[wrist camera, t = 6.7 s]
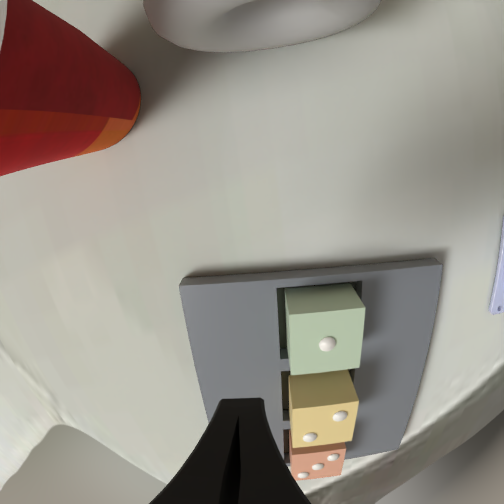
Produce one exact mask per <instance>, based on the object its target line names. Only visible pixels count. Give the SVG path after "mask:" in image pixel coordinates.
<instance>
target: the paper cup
mask: <svg viewBox="0 0 504 504" xmlns="http://www.w3.org/2000/svg"><path fill="white" fill-rule="evenodd" d="M140 104H141V93H140V88H139V84H138V82H137V80H136V78H135V76H134V75H133V73H132V72H131V71H130V70H129V69H128V68H127V67H126V66H125V65H124V64H122V63H121V62H120V61H119V60H117V59H116V58H115V57H114V56H112V55H111V54H110V53H108V52H107V51H106V50H104V49H103V48H102V47H100V46H99V45H98V44H97V43H95V42H94V41H93V40H91V39H90V38H89V37H88V36H86V35H85V34H84V33H82V32H81V31H80V30H78V29H77V28H75V27H74V26H72V25H70V24H69V23H67V22H66V21H64V20H63V19H61V18H59V17H58V16H56V15H55V14H53V13H51V12H50V11H48V10H46V9H45V8H43V7H42V6H40V5H39V4H37V3H35V2H34V1H32V0H0V176H3V175H6V174H9V173H13V172H16V171H20V170H23V169H27V168H31V167H34V166H38V165H42V164H46V163H50V162H54V161H58V160H62V159H66V158H70V157H74V156H79V155H83V154H87V153H91V152H95V151H99V150H103V149H106V148H108V147H111V146H112V145H114V144H116V143H117V142H119V141H120V140H121V139H123V138H124V137H125V136H126V135H127V133H128V132H129V131H130V130H131V128H132V127H133V125H134V123H135V121H136V119H137V116H138V113H139V110H140Z"/></svg>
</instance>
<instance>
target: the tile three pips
mask: <svg viewBox="0 0 504 504" xmlns="http://www.w3.org/2000/svg"><path fill="white" fill-rule="evenodd" d="M345 452H346V445H345V442H340V443H333V444H326V445H317V446H309V447H299V448H293V447H292V437H291V429H289V454H290V466H291V474H292V476H293V478H294V479H295V481H296V480H306V479H315V478H323V477H331V476H337V475H341V471H342V466H343V462H344V457H345Z"/></svg>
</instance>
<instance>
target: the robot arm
mask: <svg viewBox="0 0 504 504" xmlns="http://www.w3.org/2000/svg"><path fill="white" fill-rule="evenodd" d="M489 312H490V313H491V314H493V315H494V314H498V313H502V312H504V217H503V227H502V236H501V244H500V251H499V258H498V265H497V271H496V276H495V282H494V287H493V292H492V297H491V301H490V306H489ZM149 504H311V503H310V502H309V500H308V499H307V497H306V496H305V495H304V493H303V492H302V490H301V489H300V487H299V486H298V484H297V483H296V481H295V479H294V478H293V476H292V474H291V472H290V471H289V469H288V467H287V465H286V463H285V461H284V459H283V457H282V455H281V453H280V451H279V449H278V447H277V444H276V442H275V440H274V437H273V435H272V432H271V429H270V426H269V423H268V420H267V416H266V412H265V404H264V399H262V398H261V397H258V398H233V399H221V400H220V401H219V403H218V406H217V408H216V410H215V412H214V415H213V417H212V419H211V421H210V423H209V424H208V426H207V428H206V430H205V432H204V434H203V435H202V437H201V439H200V440H199V442H198V444H197V445H196V447H195V449H194V450H193V452H192V453H191V454H190V456H189V457H188V459H187V460H186V462H185V463H184V464H183V466H182V467H181V469H180V470H179V471H178V472H177V474H176V475H175V476H174V477H173V479H172V480H171V481H170V482H169V483H168V484H167V486H166V487H165V488H164V489H163V490H162V491H161V492H160V493H159V494H158V495H157V496H156V497H155V498H154V499H153V500H152V501H151V502H150V503H149Z"/></svg>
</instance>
